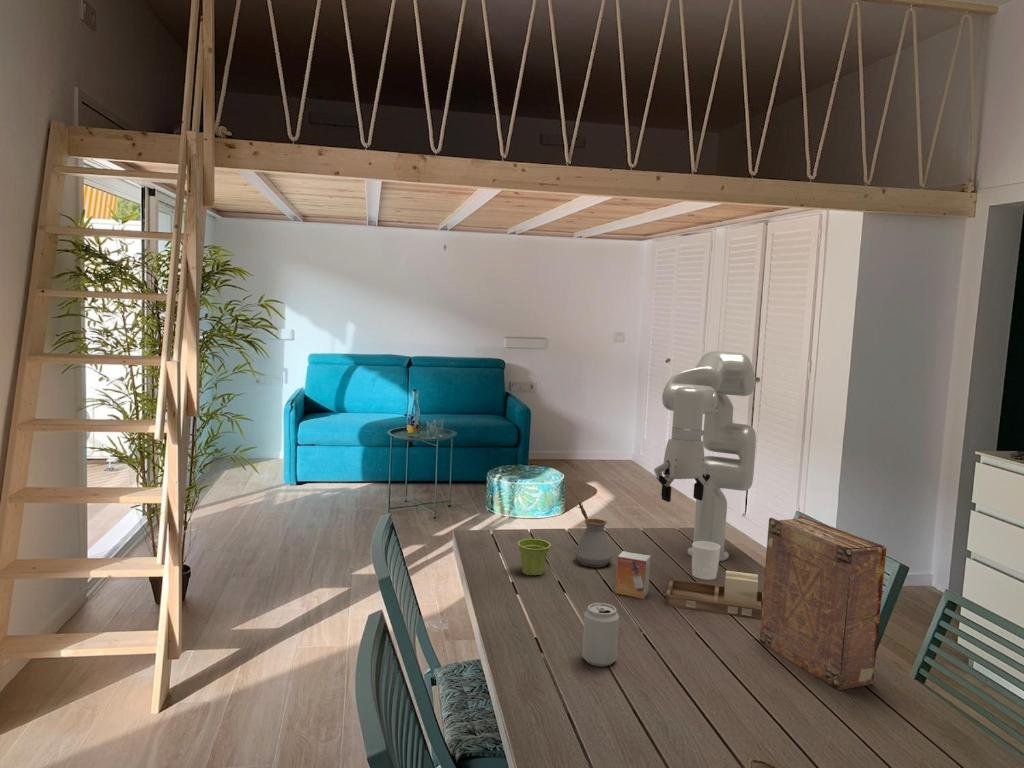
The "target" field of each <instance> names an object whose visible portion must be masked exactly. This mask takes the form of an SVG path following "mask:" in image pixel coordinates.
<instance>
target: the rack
mask: <svg viewBox="0 0 1024 768" xmlns="http://www.w3.org/2000/svg"><path fill="white" fill-rule="evenodd" d="M667 585H668V586H667V588H666V592H665V595H664V606H667V607H674V608H679V609H688V610H695V611H699V612H700V611H701V612H708V613H709V612H710V613H715V614H724V615H728V616H729V615H730V616H737V617H741V618H742V617H743V618H749V619H757V620H761V617H762V604H763V591H764V590H758V589H757V603H756V607H751V606H744V605H737V604H730V603H724V591H725V585H722V584H714V583H709V582H708V583H707V582H699V581H691V580H685V579H678V578H670V579H669V582H668V584H667Z"/></svg>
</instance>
